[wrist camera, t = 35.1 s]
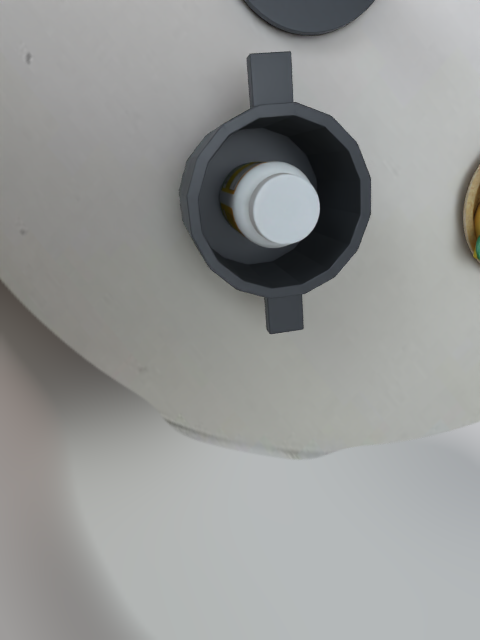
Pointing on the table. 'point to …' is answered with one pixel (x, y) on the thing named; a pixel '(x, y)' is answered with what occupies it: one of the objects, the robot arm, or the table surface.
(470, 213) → the toy food set
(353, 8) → the lid
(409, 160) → the table surface
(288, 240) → the supplement bottle
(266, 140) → the cup
